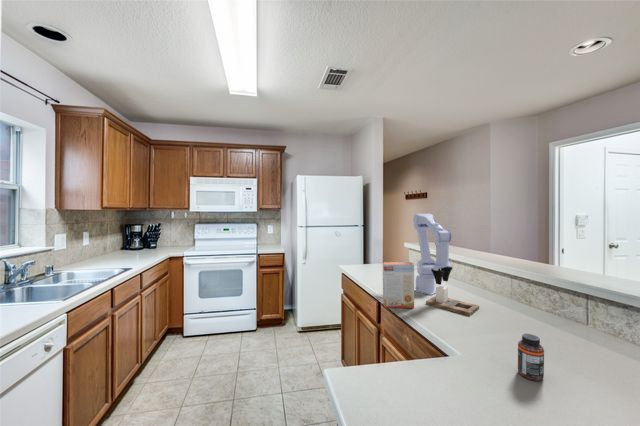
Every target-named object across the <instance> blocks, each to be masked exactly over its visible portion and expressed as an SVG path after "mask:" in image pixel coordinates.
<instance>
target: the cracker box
mask: <svg viewBox="0 0 640 426" xmlns="http://www.w3.org/2000/svg"><path fill="white" fill-rule="evenodd" d="M382 303H383V307H384V308H385V309H386V308H390V309H391V308H392V309H393V308H394V309H395V308H396V309H397V308H398V309H415V264H414V263H413V262H411V261H410V262H408V261H404V262H403V261H401V262H400V261H386V262H385V261H383V262H382Z"/></svg>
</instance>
